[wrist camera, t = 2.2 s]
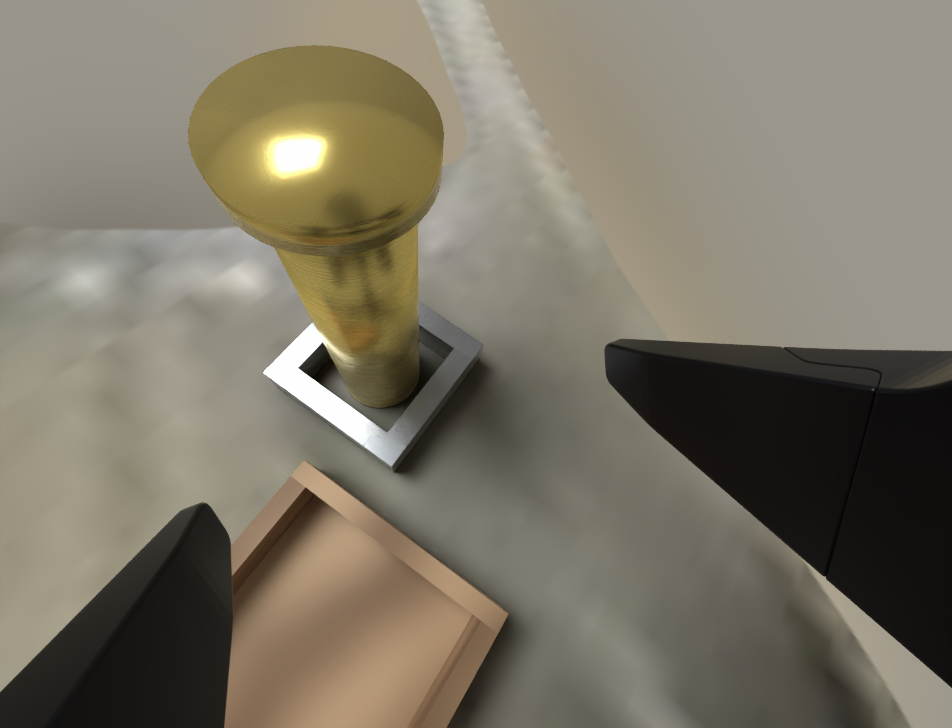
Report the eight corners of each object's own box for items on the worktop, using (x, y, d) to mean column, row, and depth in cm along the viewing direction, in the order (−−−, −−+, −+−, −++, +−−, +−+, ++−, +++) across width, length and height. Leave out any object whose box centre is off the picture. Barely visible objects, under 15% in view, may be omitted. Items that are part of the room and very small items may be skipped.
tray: (497, 603, 19) (508, 613, 17) (343, 875, 16) (328, 943, 13) (318, 469, 21) (304, 460, 18) (135, 690, 17) (83, 719, 14)
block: (478, 359, 24) (483, 344, 22) (394, 472, 21) (391, 466, 19) (371, 286, 25) (367, 266, 23) (276, 386, 22) (263, 372, 20)
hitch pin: (449, 363, 24) (488, 120, 10) (390, 439, 22) (334, 271, 8) (374, 312, 24) (312, 16, 10) (310, 381, 22) (129, 132, 8)
